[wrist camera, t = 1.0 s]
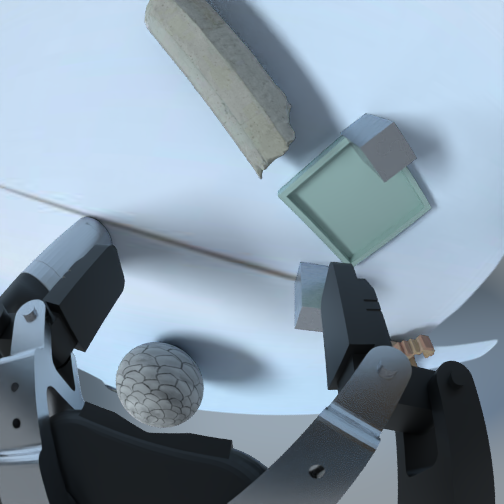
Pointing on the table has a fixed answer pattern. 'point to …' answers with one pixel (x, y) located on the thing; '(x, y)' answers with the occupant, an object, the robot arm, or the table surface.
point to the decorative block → (224, 77)
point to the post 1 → (309, 296)
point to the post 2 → (379, 145)
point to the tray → (352, 202)
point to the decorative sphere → (159, 384)
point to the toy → (415, 347)
